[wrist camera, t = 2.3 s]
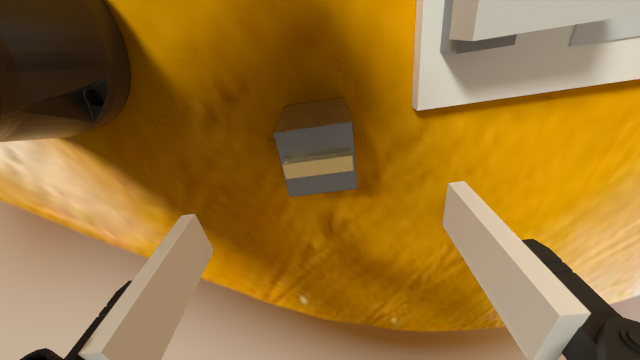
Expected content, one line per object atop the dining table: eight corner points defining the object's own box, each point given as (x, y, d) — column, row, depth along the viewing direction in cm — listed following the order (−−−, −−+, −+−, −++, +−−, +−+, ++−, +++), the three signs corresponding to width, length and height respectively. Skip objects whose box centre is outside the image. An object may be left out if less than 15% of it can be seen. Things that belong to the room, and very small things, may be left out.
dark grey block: (296, 158, 26) (288, 202, 19) (285, 106, 23) (271, 137, 17) (348, 151, 26) (358, 194, 19) (343, 97, 23) (353, 125, 16)
